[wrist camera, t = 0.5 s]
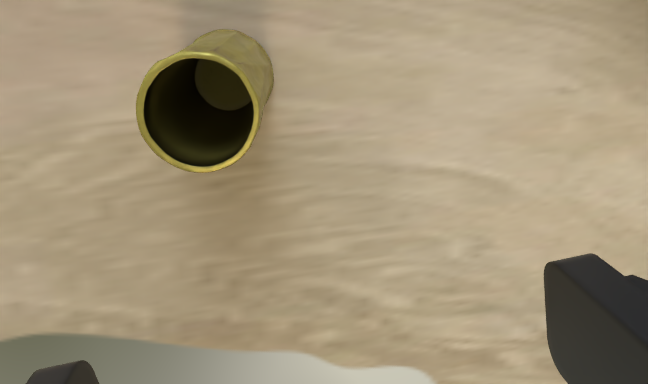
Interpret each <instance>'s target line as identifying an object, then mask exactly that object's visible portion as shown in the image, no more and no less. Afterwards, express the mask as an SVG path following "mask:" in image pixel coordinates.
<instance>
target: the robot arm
mask: <svg viewBox="0 0 648 384" xmlns="http://www.w3.org/2000/svg"><path fill="white" fill-rule="evenodd" d="M544 289H545V306H546V324H547V339H548V345H549V349H550V353H551V356H552V358H553V361H554V363H555V365H556V367H557V369H558V371H559V372H560V374H561V375H562V377H563V378H564V379H565V381H566V382H567V383H568V384H648V280H645V279H642V278H640V277H637V276H634V275H629V276H624V275H622V274H621V273H620V272H618V271H617V270H616V269H614V268H613V267H612V266H610V265H609V264H608V263H606V262H605V261H604V260H602V259H601V258H600V257H598V256H597V255H595V254H585V255H581V256H576V257H571V258H566V259H562V260H557V261H552V262H549V263H547V264H546V266H545V269H544ZM26 384H99V382H98V380H97V377H96V375H95V372H94V370H93V368H92V367H91V365H90V364H89V363H88V362H86V361H84V360H82V361H77V362H72V363H67V364H62V365H57V366H53V367H48V368H44V369H39V370H37V371H35V372H34V373H33V374H32V376H31V377H30V378H29V380H28V382H27V383H26Z"/></svg>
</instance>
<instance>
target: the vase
mask: <svg viewBox="0 0 648 384" xmlns="http://www.w3.org/2000/svg"><path fill="white" fill-rule="evenodd" d="M272 87H273V69H272V64H271V62H270V59H269V57H268V55H267V54H266V52H265V51H264V49H263V48H262V46H261V45H260V44H259V43H258V42H257V41H255V40H254V39H252V38H250V37H249V36H247V35H245V34H243V33H241V32H239V31H235V30H215V31H212V32H209V33H207V34H205V35H203V36H201V37H199V38H198V39H196V40H195V41H194V43H193V44H191V45H189V46H188V47H186V48H185V49H183V50H182V51H180V52H178V53H176V54H174V55H172V56H170V57H168V58H165V59H163V60H160V61H158V62H157V63H155V64H154V65H153V66H152V67H151V68H150V70H149V71H148V73H147V74H146V76H145V78H144V80H143V82H142V84H141V87H140V89H139V92H138V95H137V101H136V116H137V122H138V126H139V130H140V133H141V135H142V137H143V138H144V140H145V142H146V143H147V144H148V146H149V147H150V148H151V149H152V150H153V151H154V153H155V154H156V155H158V156H159V157H160V158H161V159H163V160H164V161H166V162H168V163H169V164H171V165H173V166H175V167H177V168H179V169H182V170H185V171H189V172H197V173H207V172H213V171H217V170H220V169H223V168H226V167H228V166H230V165H232V164H234V163H235V162H237V161H238V160H239V159H240V158H241V157H242V156H243V155H244V154H245V153H246V152H247V151H248V149H249V148H250V147H251V145H252V142H253V140H254V137H255V135H256V133H257V131H258V129H259V128H260V123H261V119H262V114H263V107H264V105H265V104H266V102H267V100H268V98H269V96H270V93H271V90H272Z"/></svg>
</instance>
